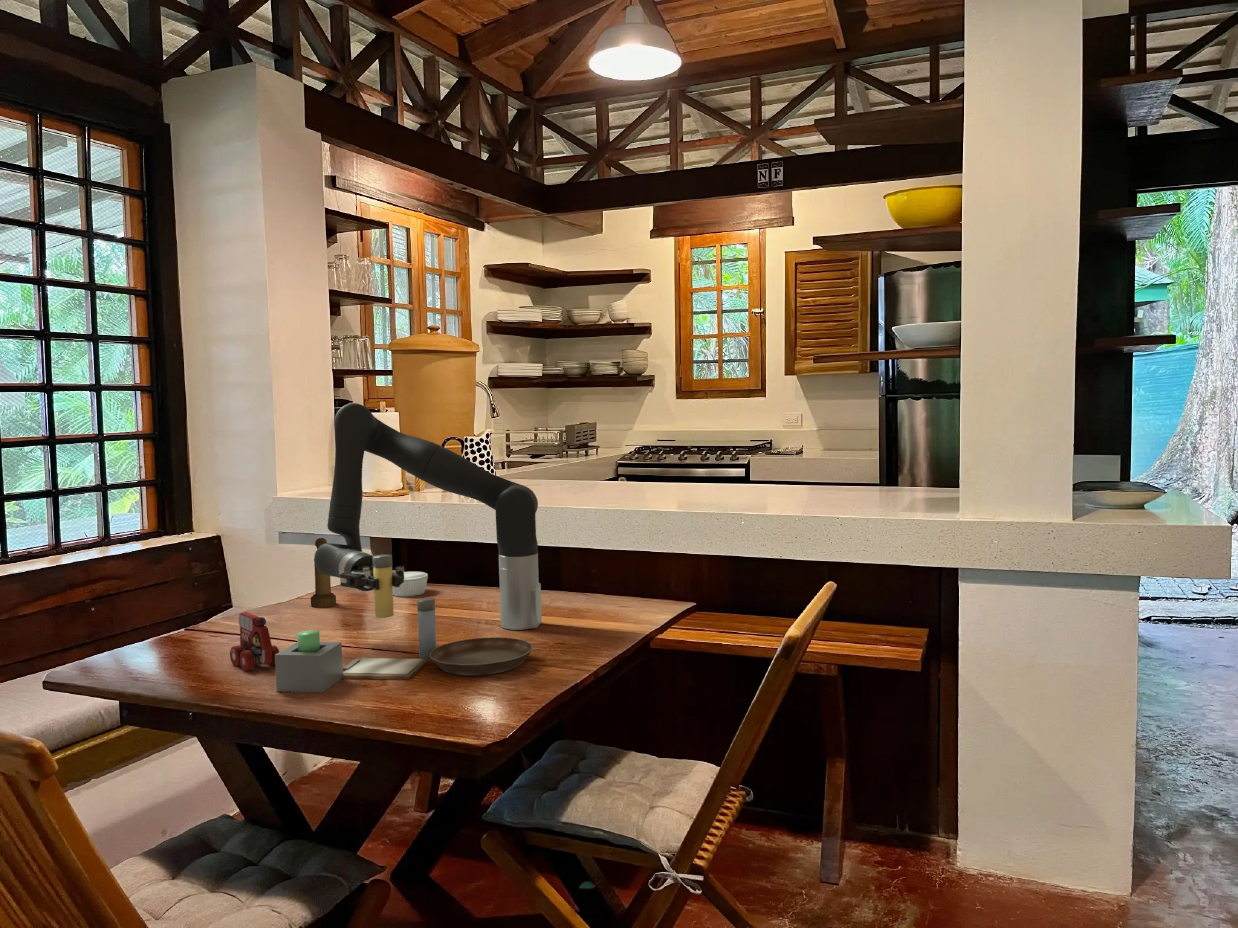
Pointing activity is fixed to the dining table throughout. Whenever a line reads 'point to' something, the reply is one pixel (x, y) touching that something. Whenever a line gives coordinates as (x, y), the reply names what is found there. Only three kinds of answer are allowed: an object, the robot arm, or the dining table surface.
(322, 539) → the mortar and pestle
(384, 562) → the marker mustard
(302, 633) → the button
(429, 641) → the slate
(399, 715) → the dining table surface
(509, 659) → the plant saucer
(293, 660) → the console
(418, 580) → the ramekin
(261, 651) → the toy fire truck
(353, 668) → the sketch pad
